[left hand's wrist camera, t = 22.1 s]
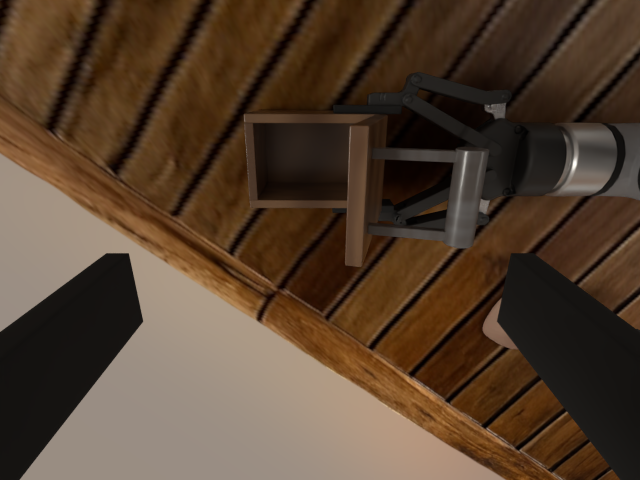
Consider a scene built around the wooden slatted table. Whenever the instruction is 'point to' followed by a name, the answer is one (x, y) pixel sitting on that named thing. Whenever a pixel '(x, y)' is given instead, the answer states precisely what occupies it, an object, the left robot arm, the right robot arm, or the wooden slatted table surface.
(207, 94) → the wooden slatted table surface
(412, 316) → the wooden slatted table surface
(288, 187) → the chest
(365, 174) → the lid
